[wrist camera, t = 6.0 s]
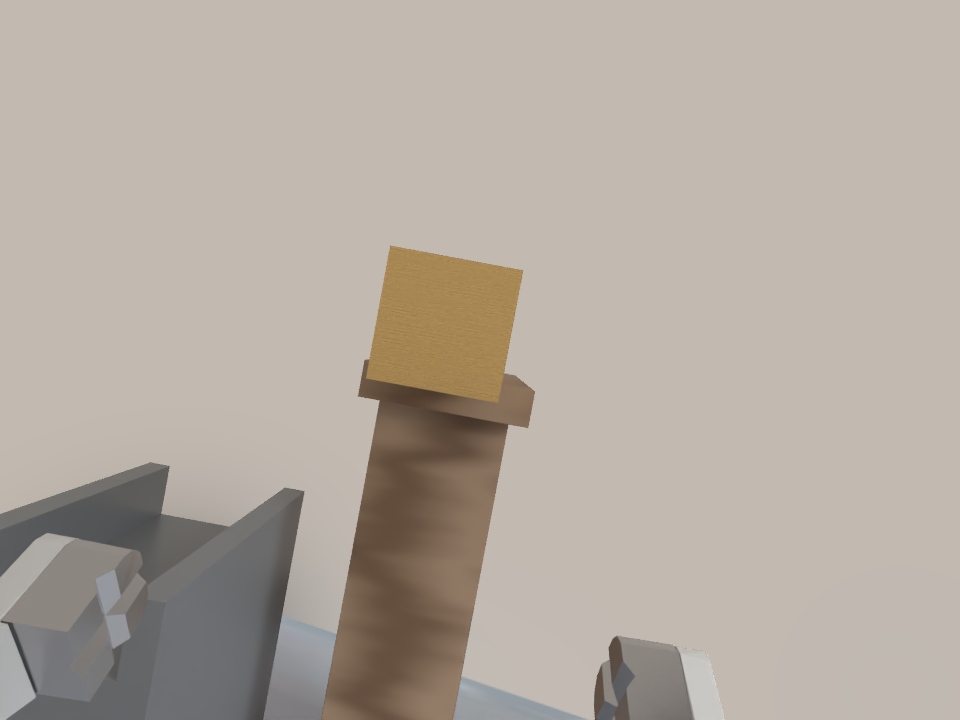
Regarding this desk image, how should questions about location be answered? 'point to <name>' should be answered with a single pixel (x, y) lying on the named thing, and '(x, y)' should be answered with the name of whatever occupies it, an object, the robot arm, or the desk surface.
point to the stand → (418, 550)
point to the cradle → (175, 599)
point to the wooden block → (444, 324)
